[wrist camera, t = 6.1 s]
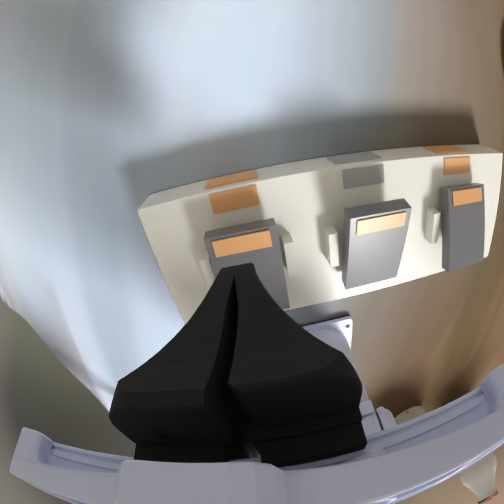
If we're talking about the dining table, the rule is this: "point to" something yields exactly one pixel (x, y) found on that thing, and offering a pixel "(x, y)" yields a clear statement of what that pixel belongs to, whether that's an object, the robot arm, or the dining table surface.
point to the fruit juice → (481, 478)
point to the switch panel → (316, 216)
